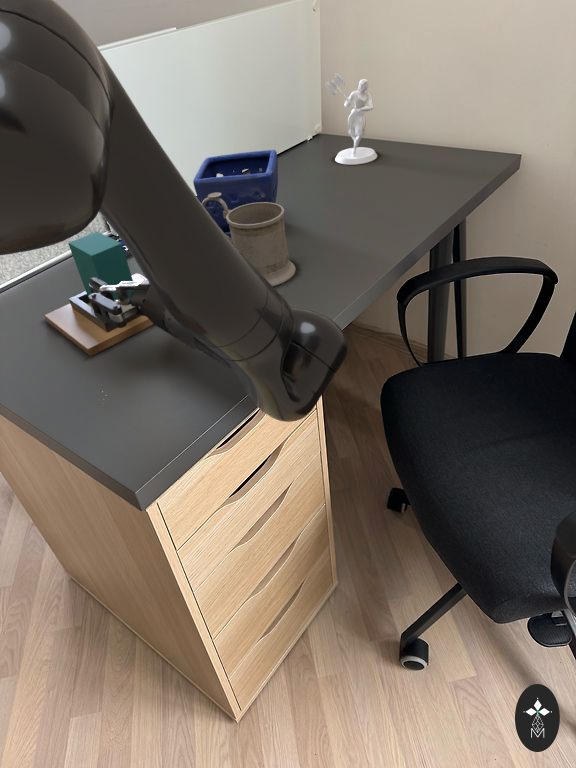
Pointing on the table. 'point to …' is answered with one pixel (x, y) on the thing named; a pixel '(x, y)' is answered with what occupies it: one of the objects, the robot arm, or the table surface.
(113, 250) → the foam pad
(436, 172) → the table surface
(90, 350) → the cork base pad
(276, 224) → the mug
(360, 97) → the figurine
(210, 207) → the flower pot
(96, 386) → the table surface
